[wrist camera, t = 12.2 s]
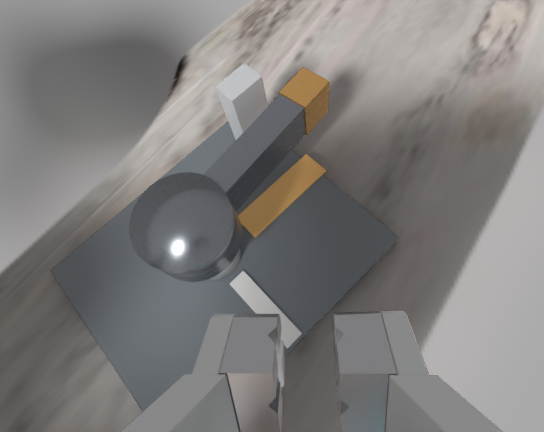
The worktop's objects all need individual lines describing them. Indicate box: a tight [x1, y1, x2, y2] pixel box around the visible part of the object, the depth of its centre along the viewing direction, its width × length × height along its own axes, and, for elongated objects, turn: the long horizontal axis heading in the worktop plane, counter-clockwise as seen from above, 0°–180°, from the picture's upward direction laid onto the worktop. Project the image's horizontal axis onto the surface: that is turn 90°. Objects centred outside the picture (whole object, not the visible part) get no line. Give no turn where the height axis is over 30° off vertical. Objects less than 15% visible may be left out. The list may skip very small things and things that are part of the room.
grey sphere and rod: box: [129, 67, 329, 282], centre depth 26 cm, size 7×18×4 cm, turn 140°
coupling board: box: [51, 63, 399, 411], centre depth 28 cm, size 24×20×10 cm
